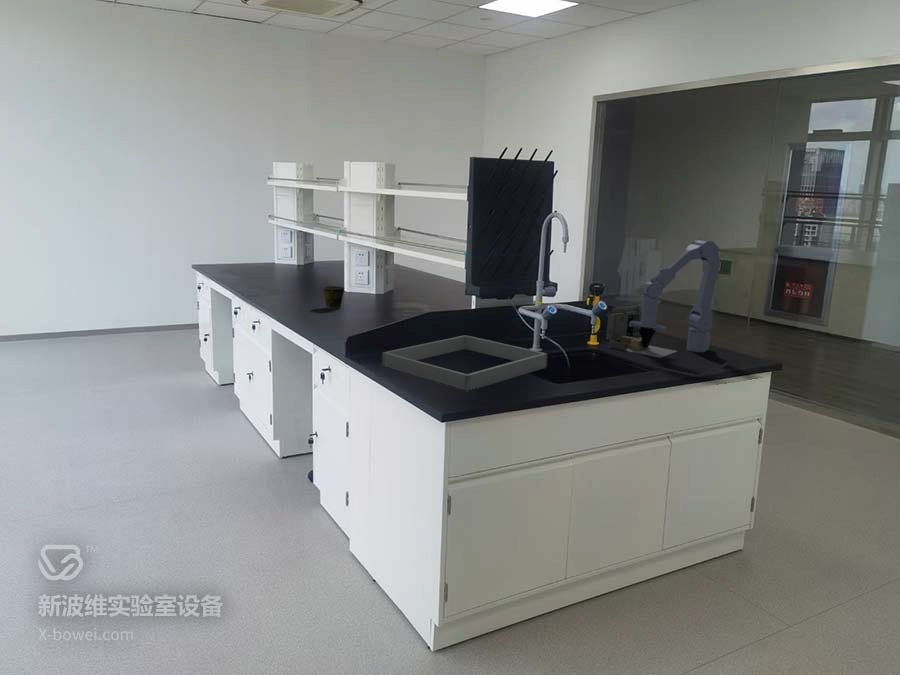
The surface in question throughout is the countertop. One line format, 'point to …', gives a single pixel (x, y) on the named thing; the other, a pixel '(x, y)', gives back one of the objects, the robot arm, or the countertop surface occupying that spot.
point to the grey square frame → (407, 363)
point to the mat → (652, 351)
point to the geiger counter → (623, 322)
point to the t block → (632, 342)
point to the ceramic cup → (333, 296)
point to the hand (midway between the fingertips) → (645, 347)
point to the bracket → (618, 344)
